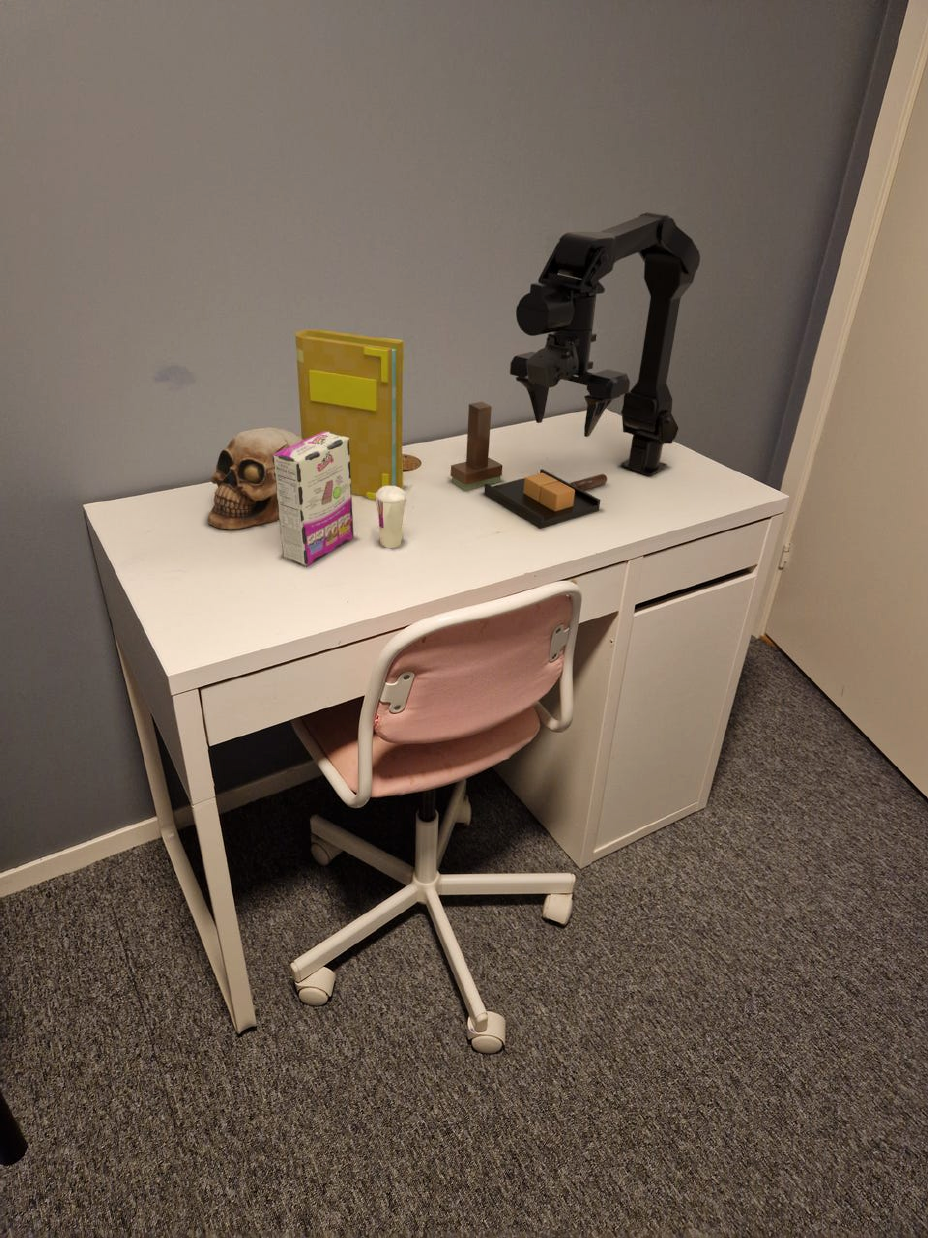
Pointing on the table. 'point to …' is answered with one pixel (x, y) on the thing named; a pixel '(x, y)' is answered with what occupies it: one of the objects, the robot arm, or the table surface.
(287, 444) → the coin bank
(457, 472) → the scrub brush
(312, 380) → the book
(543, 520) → the griddle
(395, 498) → the milkshake
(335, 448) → the candy bar box
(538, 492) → the block
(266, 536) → the table surface
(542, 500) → the orange square block
